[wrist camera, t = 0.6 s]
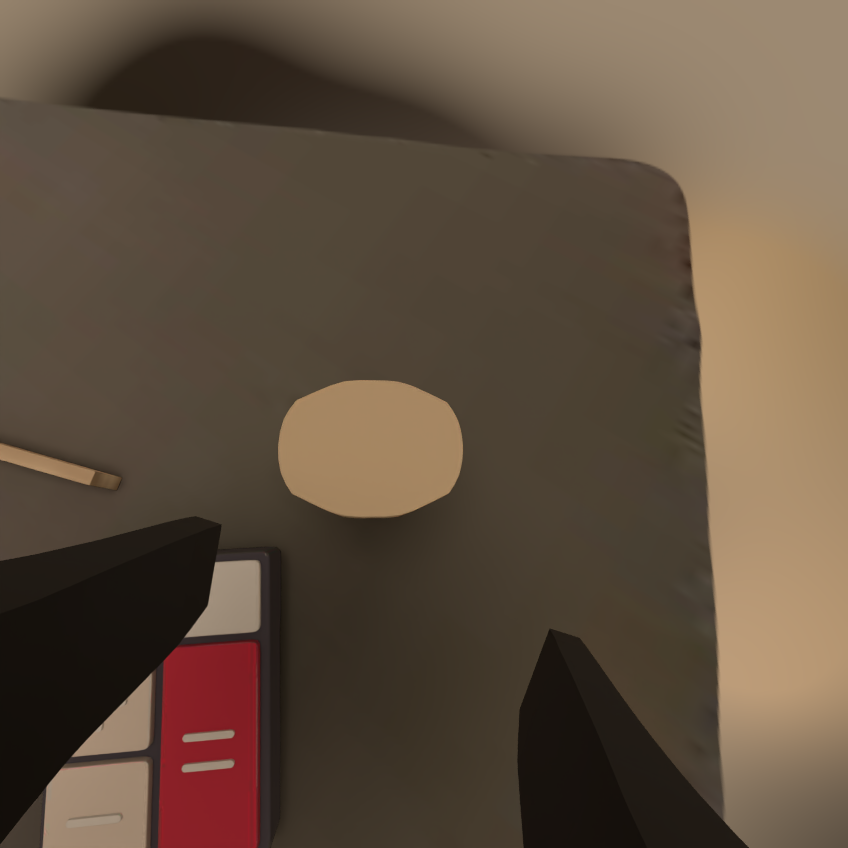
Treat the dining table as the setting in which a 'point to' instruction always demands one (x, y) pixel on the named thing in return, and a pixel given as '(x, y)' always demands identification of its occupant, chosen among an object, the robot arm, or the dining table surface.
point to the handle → (370, 449)
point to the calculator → (189, 734)
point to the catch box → (58, 467)
